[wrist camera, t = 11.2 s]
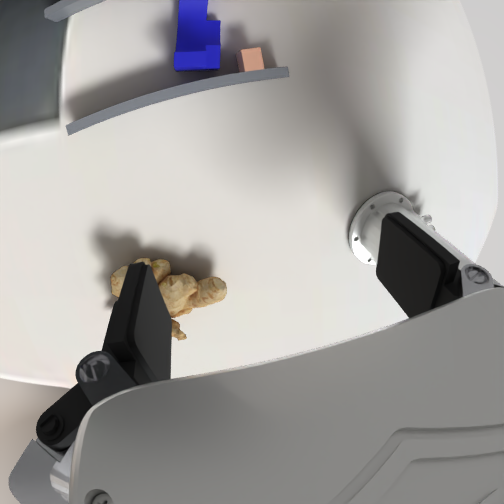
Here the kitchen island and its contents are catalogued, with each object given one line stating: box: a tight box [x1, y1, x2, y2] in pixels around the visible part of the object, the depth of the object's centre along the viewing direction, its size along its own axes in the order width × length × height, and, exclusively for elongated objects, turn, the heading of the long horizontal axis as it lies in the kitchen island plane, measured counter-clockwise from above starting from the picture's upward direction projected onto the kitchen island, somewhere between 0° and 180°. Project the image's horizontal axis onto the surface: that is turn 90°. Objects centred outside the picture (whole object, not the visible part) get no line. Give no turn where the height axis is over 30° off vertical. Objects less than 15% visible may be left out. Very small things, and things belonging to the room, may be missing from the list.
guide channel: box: [44, 0, 289, 136], centre depth 22 cm, size 24×16×4 cm
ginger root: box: [111, 258, 227, 340], centre depth 38 cm, size 16×16×8 cm
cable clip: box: [174, 0, 221, 72], centre depth 21 cm, size 12×4×6 cm, turn 177°
